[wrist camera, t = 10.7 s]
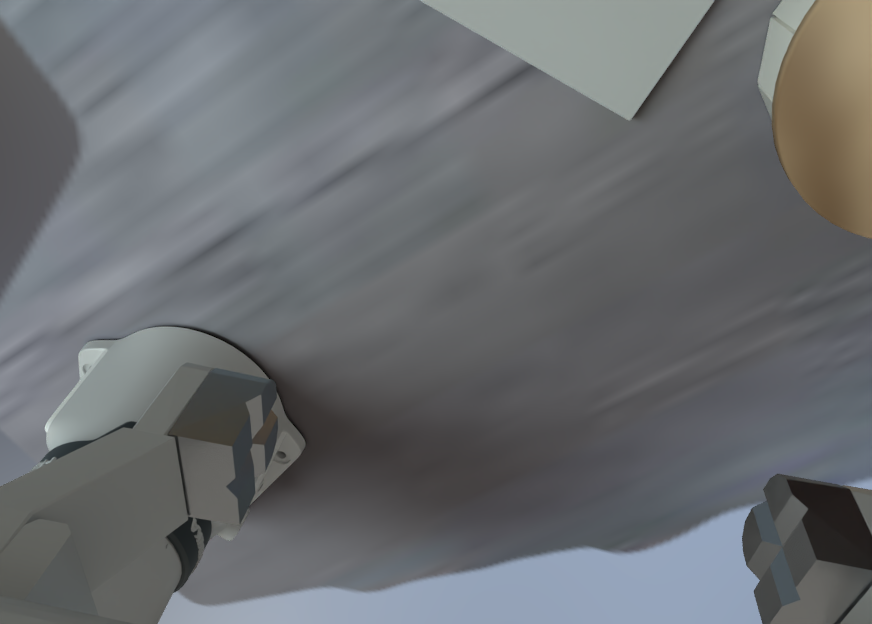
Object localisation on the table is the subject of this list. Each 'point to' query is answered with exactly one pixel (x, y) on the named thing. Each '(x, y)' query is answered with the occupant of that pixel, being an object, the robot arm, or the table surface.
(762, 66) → the bowl
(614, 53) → the trivet
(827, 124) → the lid
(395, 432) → the table surface
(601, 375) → the table surface
